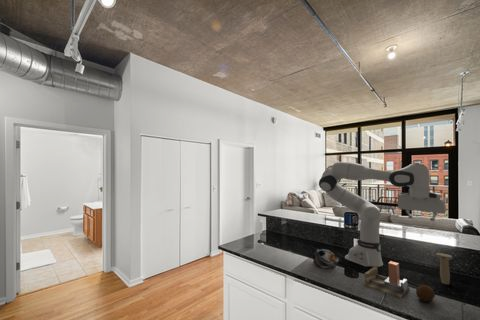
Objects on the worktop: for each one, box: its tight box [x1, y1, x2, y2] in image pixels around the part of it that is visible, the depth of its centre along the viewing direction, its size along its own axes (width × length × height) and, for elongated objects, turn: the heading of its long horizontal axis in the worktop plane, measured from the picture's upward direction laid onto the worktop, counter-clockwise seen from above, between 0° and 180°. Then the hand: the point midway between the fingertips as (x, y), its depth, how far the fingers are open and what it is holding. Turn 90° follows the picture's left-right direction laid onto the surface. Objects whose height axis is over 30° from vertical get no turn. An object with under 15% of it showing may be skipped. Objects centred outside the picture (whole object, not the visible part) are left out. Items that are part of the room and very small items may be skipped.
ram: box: [384, 260, 408, 293], centre depth 115 cm, size 8×7×12 cm
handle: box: [435, 252, 453, 285], centre depth 121 cm, size 5×6×15 cm
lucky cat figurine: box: [312, 248, 340, 270], centre depth 143 cm, size 15×12×14 cm
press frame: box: [364, 266, 410, 299], centre depth 118 cm, size 16×13×6 cm
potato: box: [415, 284, 436, 303], centre depth 106 cm, size 7×12×7 cm, turn 137°
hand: (421, 219), depth 122 cm, fingers open, 8 cm apart
